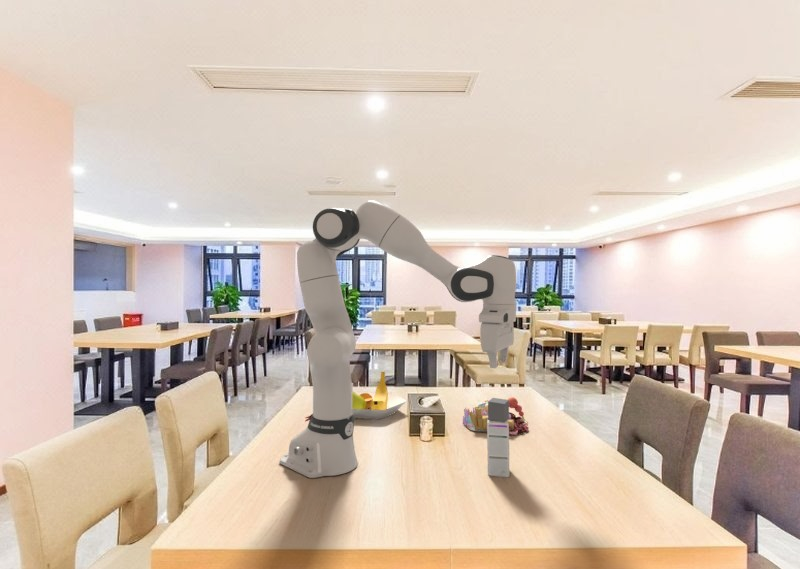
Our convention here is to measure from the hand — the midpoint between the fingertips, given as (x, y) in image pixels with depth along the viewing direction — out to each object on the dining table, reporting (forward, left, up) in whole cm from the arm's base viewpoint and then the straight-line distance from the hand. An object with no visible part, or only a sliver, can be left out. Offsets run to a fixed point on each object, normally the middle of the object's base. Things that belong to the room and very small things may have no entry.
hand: (498, 365), depth 112 cm
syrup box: (0, 0, -29) cm, 29 cm away
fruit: (-60, +28, -30) cm, 72 cm away
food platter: (-12, +39, -30) cm, 50 cm away
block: (0, 0, -15) cm, 15 cm away
